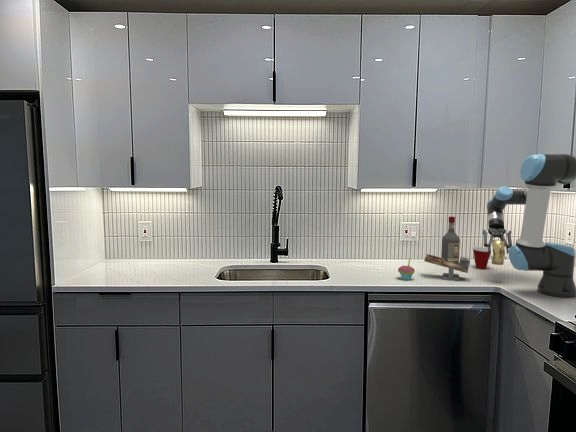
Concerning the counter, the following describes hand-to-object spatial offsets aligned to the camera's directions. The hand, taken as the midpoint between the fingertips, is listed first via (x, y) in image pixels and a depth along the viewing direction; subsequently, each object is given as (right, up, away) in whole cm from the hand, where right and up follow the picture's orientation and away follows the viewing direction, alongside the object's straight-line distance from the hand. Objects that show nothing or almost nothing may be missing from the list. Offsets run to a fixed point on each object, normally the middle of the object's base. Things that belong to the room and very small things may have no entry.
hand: (498, 257), depth 194 cm
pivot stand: (-19, -12, +13) cm, 26 cm away
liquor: (-5, -9, +46) cm, 47 cm away
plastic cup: (+9, -10, +36) cm, 39 cm away
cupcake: (-44, -13, +11) cm, 47 cm away
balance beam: (-22, -6, +13) cm, 26 cm away
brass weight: (+1, -4, +4) cm, 5 cm away
